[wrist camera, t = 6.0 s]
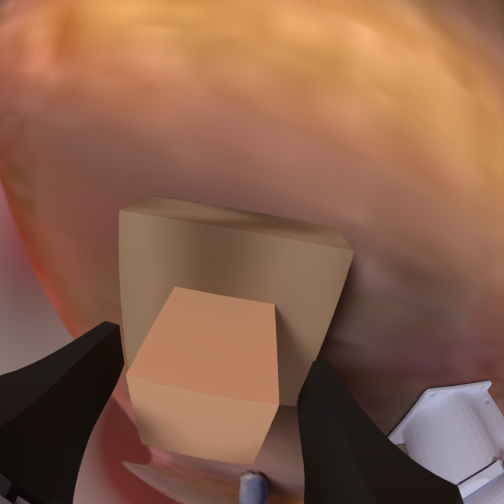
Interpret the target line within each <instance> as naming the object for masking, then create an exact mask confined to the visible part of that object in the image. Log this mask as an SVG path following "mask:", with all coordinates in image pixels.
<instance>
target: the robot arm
mask: <svg viewBox="0 0 504 504" xmlns="http://www.w3.org/2000/svg"><path fill="white" fill-rule="evenodd" d="M123 366H124V357H123V350H122V343H121V335H120V327H119V325H117V324H114V323H111V322H107V321H105V322H103V323H101V324H100V325H98V326H96V327H95V328H93V329H92V330H90V331H88V332H87V333H85V334H84V335H82V336H81V337H79V338H77V339H76V340H74V341H72V342H71V343H69V344H68V345H66V346H64V347H63V348H61V349H59V350H57V351H56V352H54V353H52V354H50V355H48V356H46V357H45V358H43V359H41V360H39V361H37V362H35V363H33V364H30V365H28V366H26V367H23V368H21V369H18V370H16V371H13V372H10V373H7V374H3V375H0V504H73V496H74V491H75V485H76V481H77V476H78V472H79V468H80V465H81V461H82V458H83V455H84V451H85V449H86V446H87V442H88V440H89V437H90V434H91V432H92V430H93V428H94V425H95V424H96V422H97V420H98V418H99V416H100V414H101V412H102V411H103V408H104V407H105V405H106V403H107V401H108V399H109V398H110V396H111V394H112V392H113V390H114V388H115V386H116V384H117V382H118V379H119V377H120V374H121V372H122V369H123ZM490 386H491V382H490V381H483V382H478V383H471V384H465V385H457V386H449V387H440V388H430V389H427V390H426V391H425V392H424V393H423V394H422V396H421V397H420V398H419V400H418V401H417V402H416V404H415V405H414V406H413V407H412V409H411V410H410V411H409V412H408V414H407V415H406V416H405V417H404V419H403V420H402V421H401V422H400V423H399V425H398V426H397V427H396V428H395V429H394V430H393V432H392V433H391V434H390V435H389V436H388V437H386V436H385V435H384V434H383V433H382V432H381V430H380V429H379V428H378V427H377V426H376V425H375V424H374V423H373V422H372V420H371V419H370V418H369V417H368V416H367V414H366V413H365V412H364V411H363V410H362V408H361V407H360V406H359V404H358V403H357V402H356V400H355V399H354V398H353V396H352V395H351V393H350V392H349V391H348V389H347V388H346V386H345V385H344V383H343V382H342V380H341V379H340V378H339V376H338V375H337V373H336V372H335V370H334V369H333V367H332V366H331V364H330V363H329V362H322V361H313V363H312V365H311V368H310V370H309V372H308V375H307V377H306V379H305V382H304V384H303V386H302V388H301V391H300V393H299V395H298V423H299V431H300V439H301V447H302V454H303V462H304V474H305V491H304V504H504V417H503V415H502V414H501V412H500V410H499V409H498V407H497V405H496V404H495V402H494V401H493V399H492V397H491V396H490V394H489V393H488V391H487V390H488V388H489V387H490ZM401 443H405V446H406V449H407V452H408V455H409V456H408V455H407V454H405V453H404V452H403V451H402V450H400V449H399V448H398V447H397V446H396V445H395V444H401Z"/></svg>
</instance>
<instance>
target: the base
mask: <svg viewBox="0 0 504 504" xmlns="http://www.w3.org/2000/svg"><path fill="white" fill-rule="evenodd" d="M353 254H354V250H353V249H352V247H351V246H350V245H349V244H348V242H347V241H346V240H345V239H344V237H343V236H342V235H341V234H340V232H339V231H338V230H337V229H336V228H333V227H328V226H323V225H318V224H313V223H308V222H303V221H298V220H293V219H287V218H282V217H277V216H271V215H266V214H260V213H254V212H249V211H243V210H237V209H231V208H225V207H219V206H213V205H206V204H200V203H194V202H187V201H180V200H173V199H167V198H159V197H152V196H147V197H145V198H143V199H141V200H139V201H137V202H135V203H133V204H131V205H129V206H127V207H125V208H123V209H121V210H120V211H119V274H120V294H121V307H122V319H123V329H124V338H125V346H126V354H127V361H128V367H129V368H130V366H131V365H132V363H133V361H134V359H135V357H136V355H137V353H138V351H139V349H140V348H141V346H142V344H143V342H144V340H145V338H146V337H147V335H148V333H149V331H150V329H151V328H152V326H153V324H154V322H155V320H156V319H157V317H158V315H159V313H160V311H161V310H162V308H163V306H164V304H165V303H166V301H167V299H168V297H169V296H170V294H171V292H172V290H173V289H174V287H180V288H185V289H190V290H196V291H201V292H206V293H212V294H217V295H223V296H228V297H234V298H240V299H246V300H252V301H258V302H264V303H271V304H275V321H276V341H277V363H278V386H279V405H286V406H295V405H296V403H297V401H298V395H299V393H300V391H301V388H302V386H303V384H304V382H305V379H306V377H307V375H308V372H309V370H310V368H311V365H312V363H313V361H315V360H316V358H317V355H318V353H319V351H320V348H321V346H322V343H323V341H324V338H325V335H326V333H327V330H328V328H329V325H330V322H331V320H332V317H333V314H334V311H335V309H336V306H337V303H338V300H339V297H340V295H341V292H342V289H343V286H344V283H345V280H346V277H347V274H348V270H349V267H350V264H351V261H352V258H353Z"/></svg>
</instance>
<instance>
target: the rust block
mask: <svg viewBox="0 0 504 504" xmlns="http://www.w3.org/2000/svg"><path fill="white" fill-rule="evenodd" d="M126 377H127V382H128V387H129V392H130V397H131V402H132V406H133V411H134V415H135V419H136V423H137V427H138V431H139V435H140V438H141V442H142V444H144V445H148V446H151V447H155V448H158V449H162V450H166V451H170V452H174V453H179V454H183V455H188V456H193V457H198V458H203V459H209V460H215V461H221V462H228V463H236V464H245V465H253V463H254V461H255V459H256V457H257V455H258V452H259V450H260V448H261V446H262V444H263V441H264V439H265V437H266V435H267V432H268V430H269V428H270V425H271V423H272V421H273V418H274V416H275V414H276V411H277V409H278V406H279V386H278V363H277V341H276V321H275V304H271V303H264V302H258V301H252V300H246V299H240V298H234V297H228V296H223V295H217V294H212V293H206V292H201V291H196V290H190V289H185V288H180V287H174V289H173V290H172V292H171V294H170V296H169V297H168V299H167V301H166V303H165V304H164V306H163V308H162V310H161V311H160V313H159V315H158V317H157V319H156V320H155V322H154V324H153V326H152V328H151V329H150V331H149V333H148V335H147V337H146V338H145V340H144V342H143V344H142V346H141V348H140V349H139V351H138V353H137V355H136V357H135V359H134V361H133V363H132V365H131V366H130V368H129V370H128V372H127V374H126Z"/></svg>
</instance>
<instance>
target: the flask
mask: <svg viewBox="0 0 504 504" xmlns="http://www.w3.org/2000/svg"><path fill="white" fill-rule="evenodd" d="M251 472H254V473H255V474H256V475H254V474H253V473H251ZM251 472H250V471H249V472H248V471H247V472H246V471H244V472H243V473H242V474H241V477H240V480H241V483H240V494H239V504H268V492H269V487H270V486H269V484H268V481H267V479H266V477H265V475H264V474H262V473H261V472H260V471H251Z"/></svg>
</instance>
